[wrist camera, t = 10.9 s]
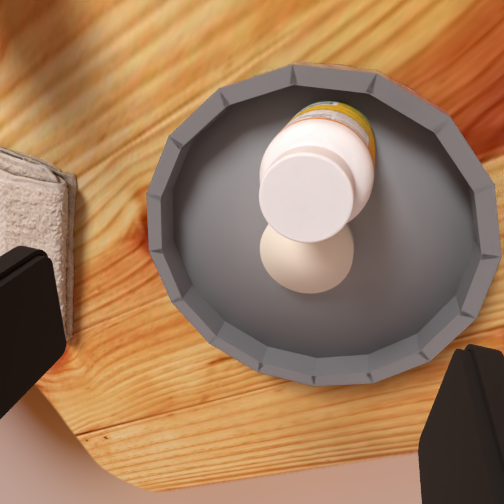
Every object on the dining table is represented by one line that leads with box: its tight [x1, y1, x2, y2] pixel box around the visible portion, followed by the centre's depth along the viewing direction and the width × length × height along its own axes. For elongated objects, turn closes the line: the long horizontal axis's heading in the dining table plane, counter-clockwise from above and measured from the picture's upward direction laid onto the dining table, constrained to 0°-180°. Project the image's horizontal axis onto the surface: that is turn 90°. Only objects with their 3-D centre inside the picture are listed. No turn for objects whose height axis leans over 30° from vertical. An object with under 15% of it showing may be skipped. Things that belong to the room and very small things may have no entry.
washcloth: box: [0, 146, 77, 341], centre depth 37 cm, size 12×18×3 cm, turn 166°
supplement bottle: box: [259, 100, 376, 243], centre depth 22 cm, size 5×5×10 cm
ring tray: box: [146, 61, 502, 386], centre depth 29 cm, size 22×22×3 cm
